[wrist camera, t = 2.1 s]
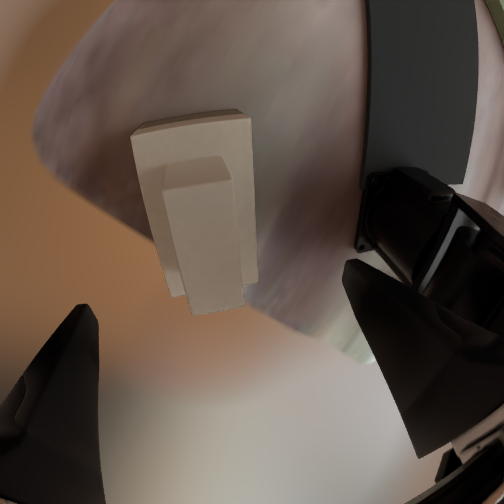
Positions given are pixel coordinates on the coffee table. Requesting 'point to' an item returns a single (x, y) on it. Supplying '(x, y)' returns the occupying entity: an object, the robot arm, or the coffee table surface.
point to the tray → (497, 15)
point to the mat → (420, 87)
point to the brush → (201, 204)
